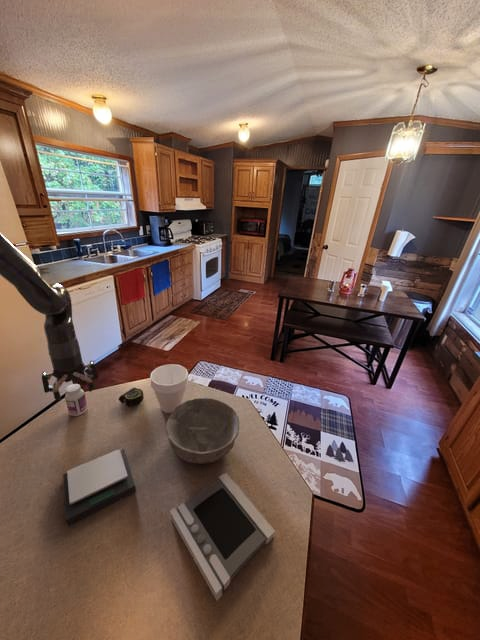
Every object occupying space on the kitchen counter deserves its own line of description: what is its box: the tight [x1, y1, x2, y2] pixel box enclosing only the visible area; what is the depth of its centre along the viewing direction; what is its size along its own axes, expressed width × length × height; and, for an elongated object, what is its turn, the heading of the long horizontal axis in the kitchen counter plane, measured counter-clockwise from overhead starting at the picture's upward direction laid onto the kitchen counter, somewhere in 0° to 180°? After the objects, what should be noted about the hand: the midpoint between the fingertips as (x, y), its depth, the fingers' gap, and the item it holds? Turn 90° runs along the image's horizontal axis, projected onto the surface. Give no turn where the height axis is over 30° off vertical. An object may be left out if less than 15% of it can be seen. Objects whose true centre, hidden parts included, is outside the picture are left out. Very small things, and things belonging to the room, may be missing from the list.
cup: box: [149, 363, 189, 414], centre depth 87 cm, size 12×12×14 cm
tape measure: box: [117, 387, 145, 407], centre depth 90 cm, size 7×7×4 cm
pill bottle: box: [64, 383, 89, 417], centre depth 83 cm, size 5×5×10 cm
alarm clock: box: [169, 472, 276, 602], centre depth 56 cm, size 17×5×16 cm
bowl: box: [165, 397, 240, 464], centre depth 73 cm, size 21×21×10 cm
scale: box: [62, 448, 137, 528], centre depth 62 cm, size 14×12×4 cm
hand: (75, 394), depth 82 cm, fingers open, 8 cm apart
